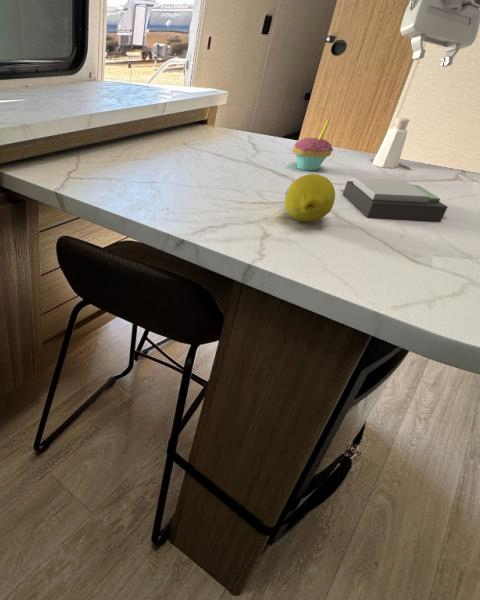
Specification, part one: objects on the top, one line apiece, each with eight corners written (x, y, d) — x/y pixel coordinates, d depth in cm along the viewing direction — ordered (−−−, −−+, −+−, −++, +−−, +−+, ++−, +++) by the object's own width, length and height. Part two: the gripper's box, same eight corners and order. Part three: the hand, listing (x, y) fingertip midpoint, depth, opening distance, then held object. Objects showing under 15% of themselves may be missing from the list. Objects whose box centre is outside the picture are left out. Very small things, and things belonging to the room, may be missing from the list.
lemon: (285, 207, 80) (297, 165, 76) (330, 215, 76) (345, 171, 72) (272, 225, 72) (284, 180, 68) (321, 235, 69) (337, 188, 64)
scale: (405, 197, 84) (414, 178, 82) (440, 221, 74) (451, 200, 71) (342, 194, 86) (349, 175, 84) (367, 217, 75) (375, 196, 73)
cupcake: (333, 169, 101) (350, 116, 95) (313, 175, 97) (330, 120, 91) (300, 161, 107) (314, 111, 101) (280, 166, 103) (294, 115, 97)
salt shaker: (399, 165, 105) (418, 118, 99) (395, 169, 101) (415, 121, 95) (374, 161, 108) (391, 115, 102) (370, 165, 104) (387, 118, 98)
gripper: (429, -21, 90) (414, 49, 93) (491, 0, 96) (475, 65, 99) (399, -7, 96) (386, 59, 98) (460, 12, 102) (446, 73, 104)
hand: (431, 62), depth 99 cm, fingers open, 8 cm apart
